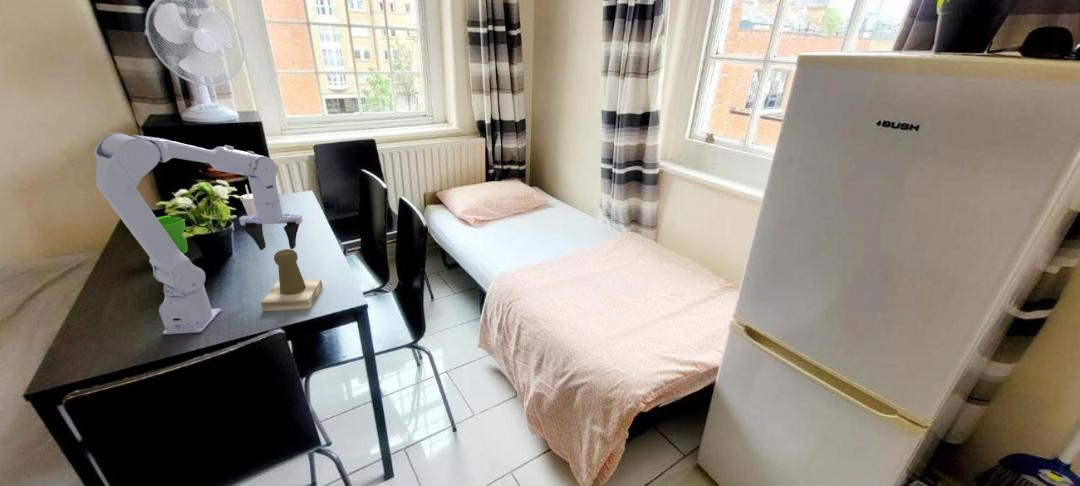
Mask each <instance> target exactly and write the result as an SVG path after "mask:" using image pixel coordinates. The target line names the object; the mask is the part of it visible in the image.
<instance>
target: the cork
mask: <svg viewBox="0 0 1080 486" xmlns="http://www.w3.org/2000/svg"><path fill="white" fill-rule="evenodd" d="M273 260H274V263H275V264H276V265H277V268H278V281H279V283H280V293H281V294H284V295H292V294H297V293H300V292H302V291H303V290H304V289H305V288H306V285H305V283H304V280H305V279H304V278H303V276H302V272H301V271H300V268H299V265H298V263H297V261H298V254H297V251H295V250H294V249H290V248H289V249H288V248H287V249H280V250H279V251H277V252H275V254H274V255H273Z"/></svg>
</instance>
